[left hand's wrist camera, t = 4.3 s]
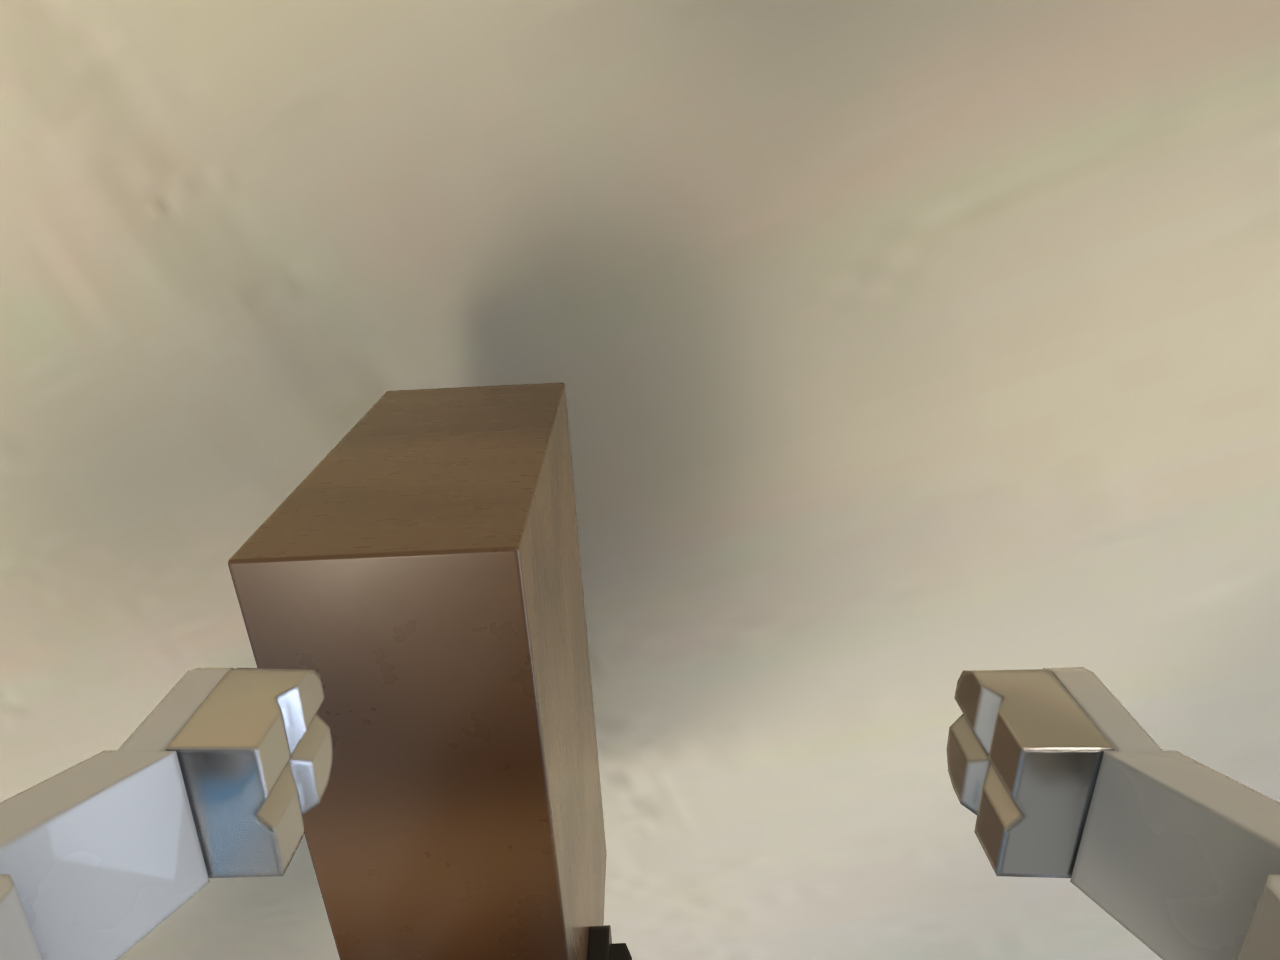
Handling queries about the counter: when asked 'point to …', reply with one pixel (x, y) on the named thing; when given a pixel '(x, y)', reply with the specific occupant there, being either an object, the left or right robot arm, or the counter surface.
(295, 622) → the box
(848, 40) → the counter surface
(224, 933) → the counter surface
